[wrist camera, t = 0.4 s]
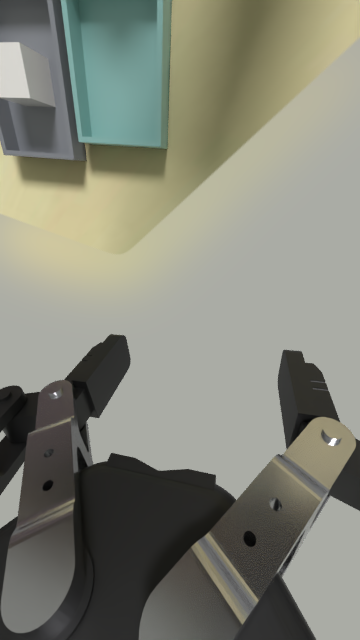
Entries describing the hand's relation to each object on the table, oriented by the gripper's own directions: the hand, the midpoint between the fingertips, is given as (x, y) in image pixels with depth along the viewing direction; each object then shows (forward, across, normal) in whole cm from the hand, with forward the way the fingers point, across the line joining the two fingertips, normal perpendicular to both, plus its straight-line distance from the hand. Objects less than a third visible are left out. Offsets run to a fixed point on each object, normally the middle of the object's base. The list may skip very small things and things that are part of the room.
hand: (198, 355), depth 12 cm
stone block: (+27, +25, -19) cm, 42 cm away
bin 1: (+28, +25, -19) cm, 42 cm away
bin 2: (+28, +13, -19) cm, 36 cm away
